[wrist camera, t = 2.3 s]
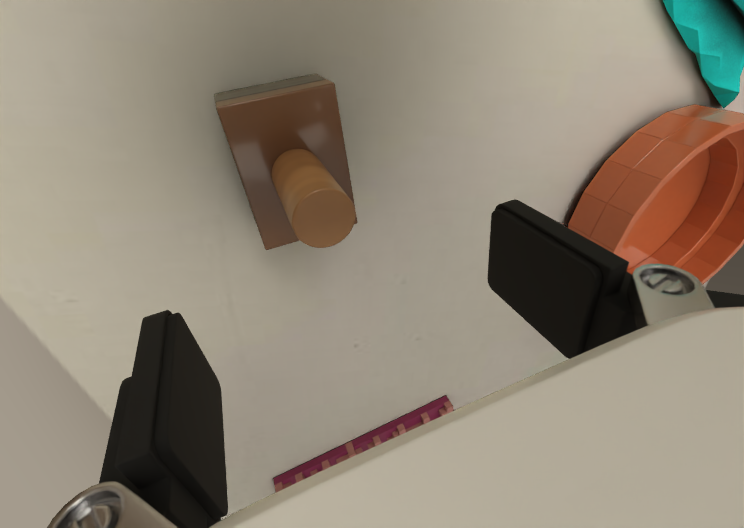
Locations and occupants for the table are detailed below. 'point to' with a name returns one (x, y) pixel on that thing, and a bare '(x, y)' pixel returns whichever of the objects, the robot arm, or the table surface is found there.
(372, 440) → the maroon lattice panel
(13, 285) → the table surface
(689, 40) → the cloth
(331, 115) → the stamp
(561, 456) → the robot arm
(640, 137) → the bowl
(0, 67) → the table surface
